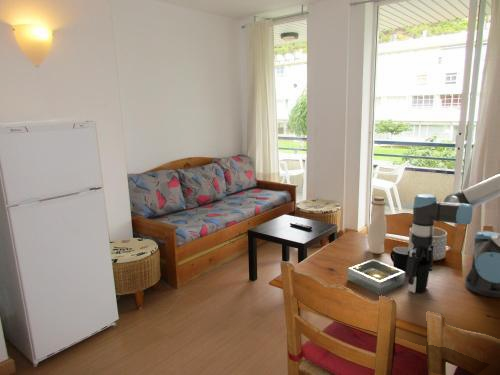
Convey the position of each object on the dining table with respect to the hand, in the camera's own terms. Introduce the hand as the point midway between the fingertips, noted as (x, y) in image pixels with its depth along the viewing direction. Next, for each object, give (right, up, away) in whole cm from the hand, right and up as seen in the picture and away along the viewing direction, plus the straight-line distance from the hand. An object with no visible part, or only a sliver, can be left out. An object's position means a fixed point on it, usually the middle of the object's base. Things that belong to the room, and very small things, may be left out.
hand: (417, 288), depth 147 cm
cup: (0, -1, 0) cm, 1 cm away
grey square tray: (-14, +1, +7) cm, 16 cm away
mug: (0, +3, +18) cm, 18 cm away
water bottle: (-3, +8, +42) cm, 43 cm away
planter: (+19, +7, +34) cm, 39 cm away
